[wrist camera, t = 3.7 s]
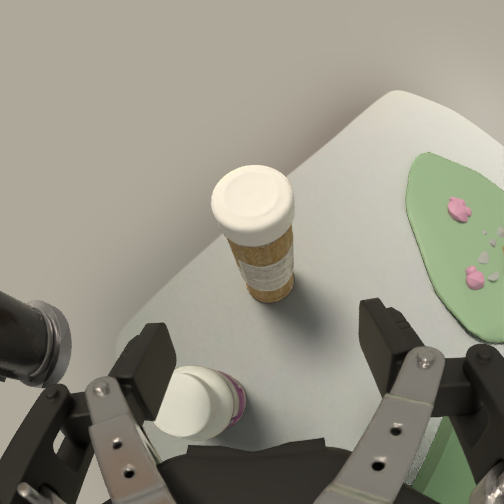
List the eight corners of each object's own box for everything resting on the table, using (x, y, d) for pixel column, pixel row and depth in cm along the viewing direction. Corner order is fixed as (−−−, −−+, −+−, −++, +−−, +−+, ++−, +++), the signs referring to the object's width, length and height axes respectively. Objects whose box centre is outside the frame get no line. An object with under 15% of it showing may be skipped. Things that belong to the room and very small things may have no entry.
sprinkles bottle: (252, 255, 29) (222, 158, 17) (298, 262, 28) (299, 165, 16) (240, 300, 27) (198, 223, 15) (289, 308, 26) (286, 236, 14)
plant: (351, 218, 30) (367, 158, 21) (439, 137, 33) (458, 87, 25) (506, 382, 19) (564, 370, 11) (559, 256, 23) (597, 224, 15)
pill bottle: (195, 433, 22) (146, 452, 14) (181, 378, 25) (128, 369, 16) (254, 421, 22) (233, 441, 14) (238, 364, 25) (209, 352, 16)
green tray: (476, 535, 11) (488, 542, 9) (382, 532, 15) (390, 544, 13) (529, 420, 16) (544, 419, 14) (448, 401, 20) (463, 401, 18)
